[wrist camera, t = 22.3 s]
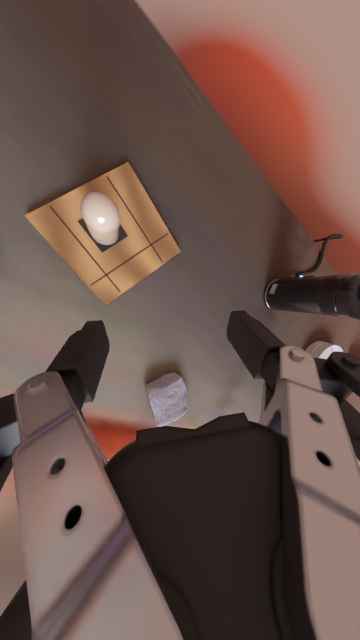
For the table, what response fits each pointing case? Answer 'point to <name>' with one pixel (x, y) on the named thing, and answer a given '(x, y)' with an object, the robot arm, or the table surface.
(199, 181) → the table surface
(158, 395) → the stone block
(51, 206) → the game board
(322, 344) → the dish
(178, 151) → the table surface
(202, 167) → the table surface
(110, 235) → the beige rounded cylinder
